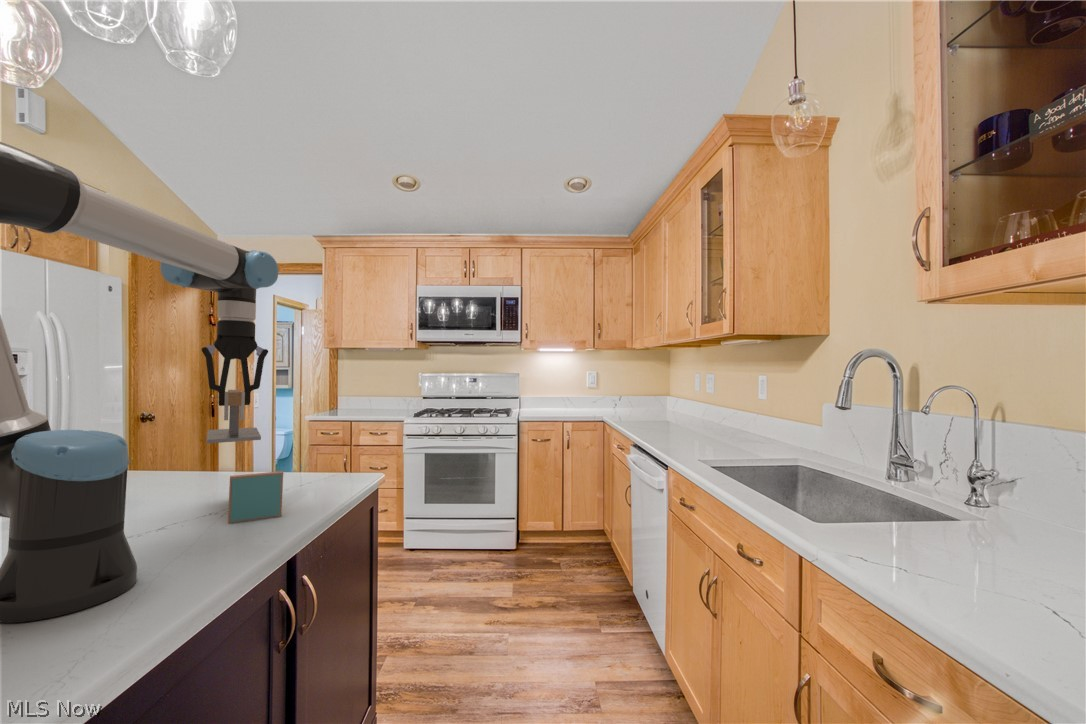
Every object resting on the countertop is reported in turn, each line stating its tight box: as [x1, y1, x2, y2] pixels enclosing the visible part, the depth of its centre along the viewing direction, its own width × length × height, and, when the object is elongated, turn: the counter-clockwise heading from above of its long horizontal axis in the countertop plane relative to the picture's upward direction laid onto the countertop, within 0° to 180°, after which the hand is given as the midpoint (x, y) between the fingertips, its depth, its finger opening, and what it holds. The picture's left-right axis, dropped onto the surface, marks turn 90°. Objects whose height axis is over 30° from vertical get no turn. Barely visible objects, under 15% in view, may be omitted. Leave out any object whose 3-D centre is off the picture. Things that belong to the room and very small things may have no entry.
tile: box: [227, 470, 284, 525], centre depth 100 cm, size 2×10×10 cm, turn 126°
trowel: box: [205, 389, 262, 444], centre depth 106 cm, size 16×10×11 cm, turn 36°
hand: (234, 419), depth 106 cm, fingers closed on trowel, 2 cm apart
